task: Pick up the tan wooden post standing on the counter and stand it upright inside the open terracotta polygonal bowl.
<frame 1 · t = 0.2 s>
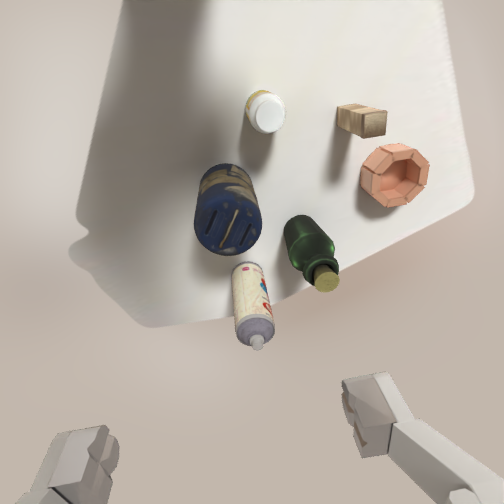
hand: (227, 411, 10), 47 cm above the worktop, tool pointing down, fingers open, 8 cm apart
tan wooden post: (346, 115, 51), on the worktop
terracotta polygonal bowl: (386, 171, 57), on the worktop
canister: (226, 187, 55), on the worktop
aerosol can: (247, 274, 66), on the worktop
supplement bottle: (261, 108, 49), on the worktop
potion bottle: (299, 228, 61), on the worktop
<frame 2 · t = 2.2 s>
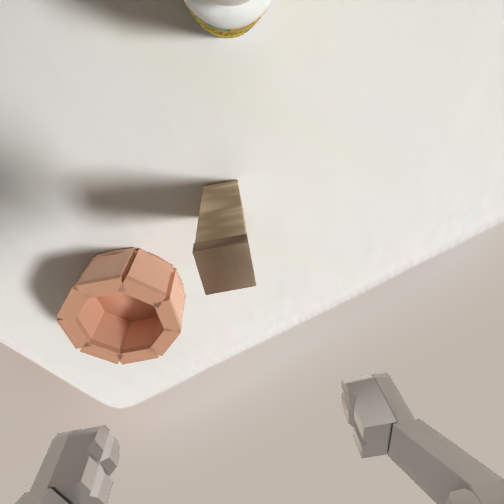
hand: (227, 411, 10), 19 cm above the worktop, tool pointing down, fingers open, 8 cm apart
tan wooden post: (223, 199, 27), on the worktop
terracotta polygonal bowl: (134, 290, 31), on the worktop
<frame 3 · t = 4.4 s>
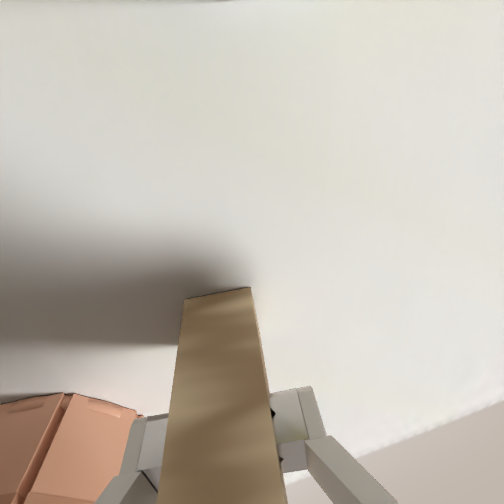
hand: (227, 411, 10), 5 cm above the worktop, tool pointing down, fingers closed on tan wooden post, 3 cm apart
tan wooden post: (224, 317, 14), on the worktop, touching gripper
terracotta polygonal bowl: (73, 446, 18), on the worktop
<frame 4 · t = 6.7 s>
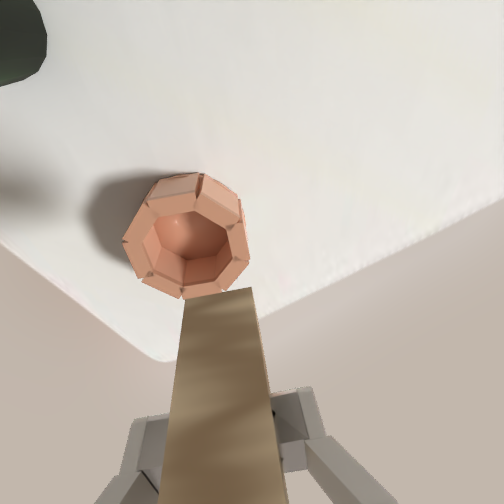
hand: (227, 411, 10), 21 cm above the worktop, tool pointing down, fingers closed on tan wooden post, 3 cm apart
tan wooden post: (225, 317, 14), point 16 cm above the worktop, touching gripper
terracotta polygonal bowl: (193, 224, 29), on the worktop
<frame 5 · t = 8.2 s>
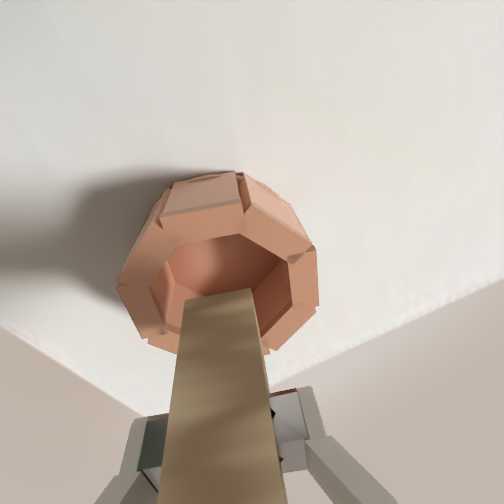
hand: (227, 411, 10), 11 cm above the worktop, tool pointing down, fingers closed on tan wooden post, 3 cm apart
tan wooden post: (224, 318, 14), point 6 cm above the worktop, touching gripper
terracotta polygonal bowl: (222, 249, 20), on the worktop
when the fingers open (6 cm above the worktop, at t = 9.4 s): tan wooden post stays where it is, resting on terracotta polygonal bowl.
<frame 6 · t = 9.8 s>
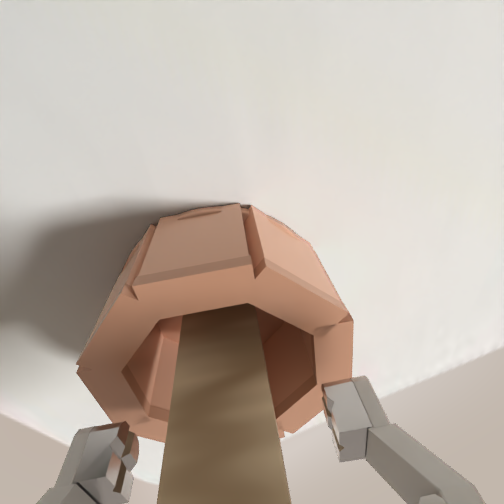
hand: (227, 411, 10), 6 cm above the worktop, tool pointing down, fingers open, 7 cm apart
tan wooden post: (224, 304, 15), point 1 cm above the worktop, touching terracotta polygonal bowl
terracotta polygonal bowl: (223, 296, 16), on the worktop
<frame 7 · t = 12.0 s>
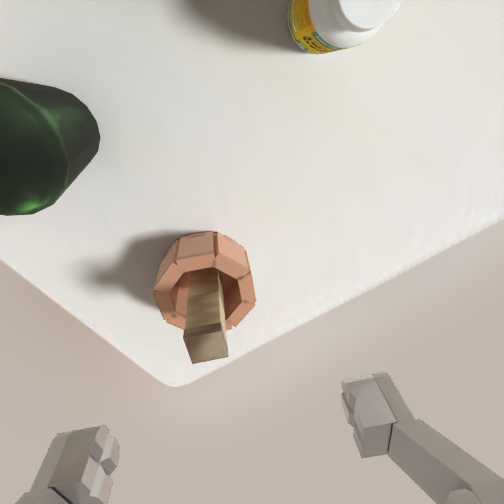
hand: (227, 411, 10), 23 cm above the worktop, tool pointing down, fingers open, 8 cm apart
tan wooden post: (206, 274, 35), point 1 cm above the worktop, touching terracotta polygonal bowl
terracotta polygonal bowl: (206, 271, 35), on the worktop
supplement bottle: (317, 15, 25), on the worktop
potion bottle: (61, 129, 26), on the worktop
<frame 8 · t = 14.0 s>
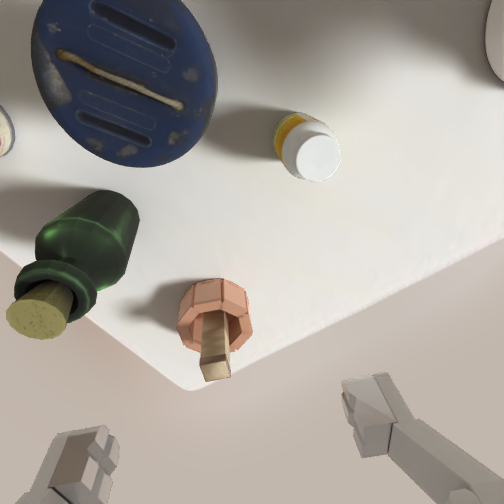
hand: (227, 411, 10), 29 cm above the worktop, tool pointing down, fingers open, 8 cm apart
tan wooden post: (215, 308, 45), point 1 cm above the worktop, touching terracotta polygonal bowl
terracotta polygonal bowl: (215, 306, 46), on the worktop
canister: (169, 76, 30), on the worktop
supplement bottle: (294, 137, 34), on the worktop
potion bottle: (112, 214, 37), on the worktop
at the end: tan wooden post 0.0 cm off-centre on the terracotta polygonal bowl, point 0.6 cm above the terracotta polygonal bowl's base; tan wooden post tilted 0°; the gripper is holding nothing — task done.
